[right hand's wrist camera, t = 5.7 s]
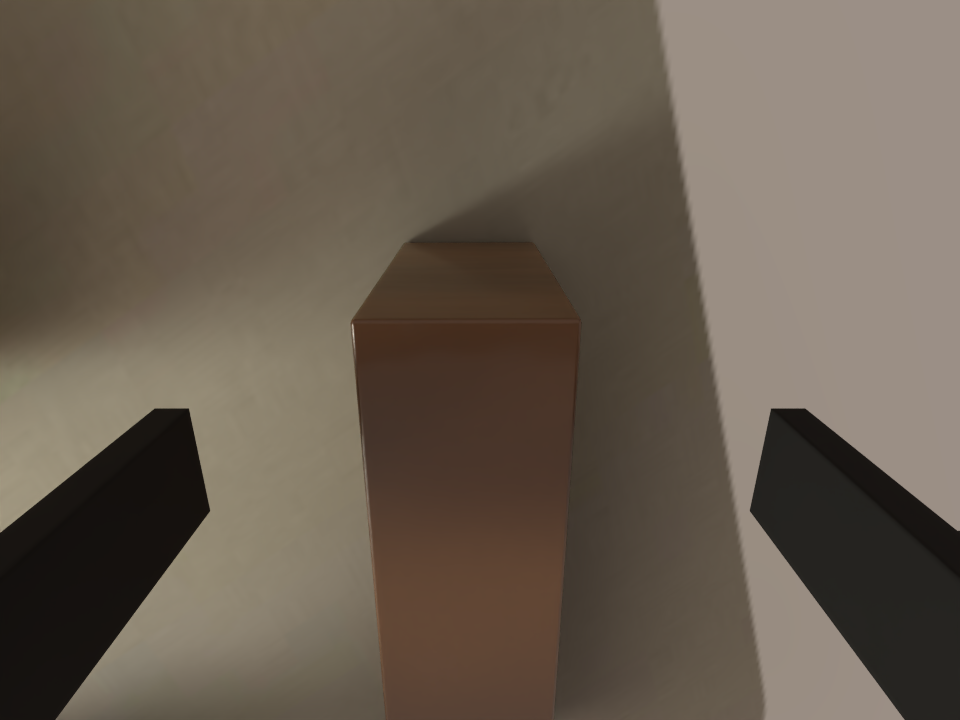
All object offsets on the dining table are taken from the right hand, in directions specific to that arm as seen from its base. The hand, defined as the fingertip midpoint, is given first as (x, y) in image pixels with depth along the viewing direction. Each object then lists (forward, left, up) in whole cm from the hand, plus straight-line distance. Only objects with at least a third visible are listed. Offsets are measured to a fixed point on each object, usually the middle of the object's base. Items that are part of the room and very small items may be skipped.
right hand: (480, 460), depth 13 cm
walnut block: (-8, -2, -8) cm, 12 cm away
